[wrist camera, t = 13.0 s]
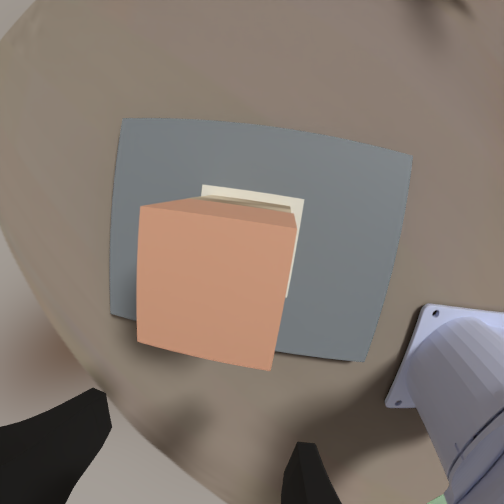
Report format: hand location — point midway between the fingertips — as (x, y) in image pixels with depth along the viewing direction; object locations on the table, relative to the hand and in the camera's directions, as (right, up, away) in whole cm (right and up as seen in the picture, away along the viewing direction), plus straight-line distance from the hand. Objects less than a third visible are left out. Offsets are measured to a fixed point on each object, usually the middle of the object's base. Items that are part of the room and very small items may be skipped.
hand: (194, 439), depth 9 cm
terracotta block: (+1, +7, +2) cm, 7 cm away
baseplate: (+2, +7, +7) cm, 11 cm away
